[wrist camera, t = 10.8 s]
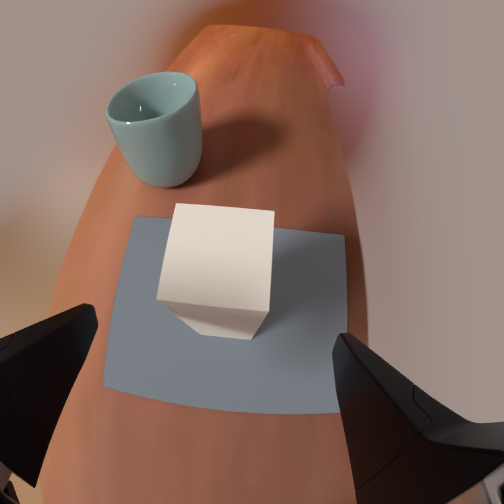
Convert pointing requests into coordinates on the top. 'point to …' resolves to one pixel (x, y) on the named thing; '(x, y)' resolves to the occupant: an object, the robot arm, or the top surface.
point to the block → (218, 269)
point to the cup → (158, 127)
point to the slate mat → (231, 349)
